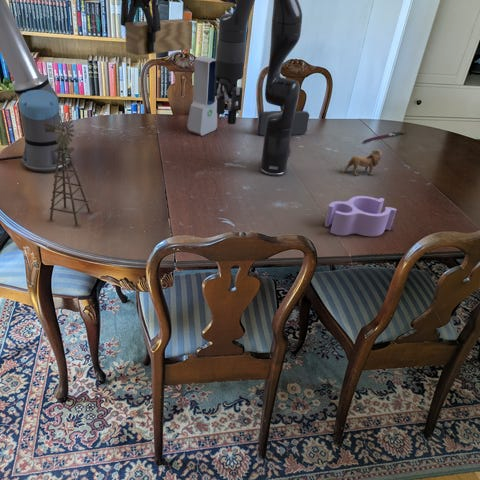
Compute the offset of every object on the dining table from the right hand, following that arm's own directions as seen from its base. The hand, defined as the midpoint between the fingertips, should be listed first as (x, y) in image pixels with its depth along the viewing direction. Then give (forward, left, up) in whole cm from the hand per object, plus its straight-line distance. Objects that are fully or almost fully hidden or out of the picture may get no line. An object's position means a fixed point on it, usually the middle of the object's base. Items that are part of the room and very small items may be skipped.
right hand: (225, 118), depth 131 cm
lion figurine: (-60, +21, -28) cm, 69 cm away
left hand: (-16, -51, +7) cm, 54 cm away
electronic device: (-46, -47, -28) cm, 71 cm away
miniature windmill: (+36, -25, -28) cm, 52 cm away
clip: (-20, +38, -28) cm, 51 cm away
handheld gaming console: (-70, -22, -28) cm, 79 cm away
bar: (-25, -51, +6) cm, 57 cm away
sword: (-105, +12, -28) cm, 109 cm away
